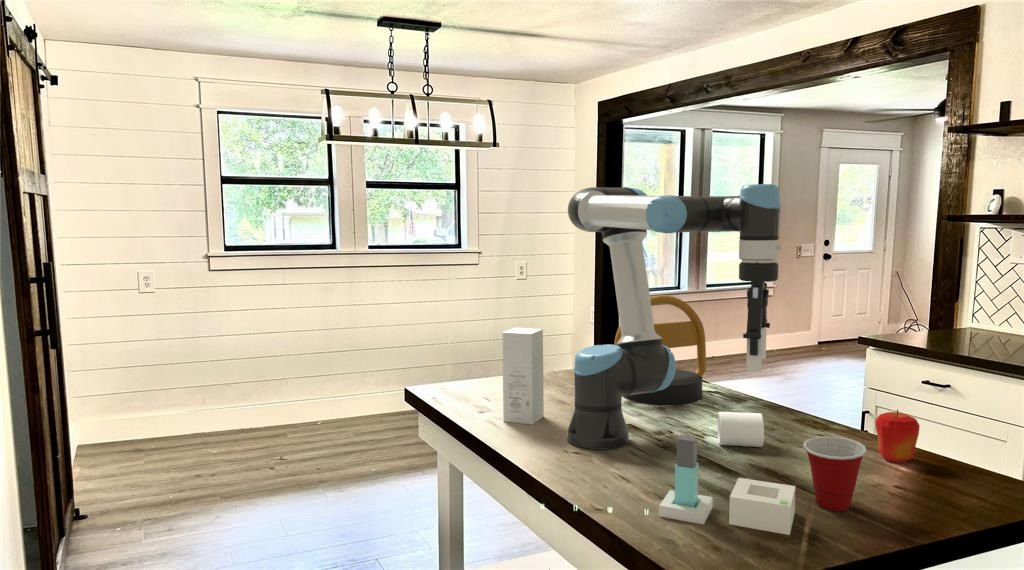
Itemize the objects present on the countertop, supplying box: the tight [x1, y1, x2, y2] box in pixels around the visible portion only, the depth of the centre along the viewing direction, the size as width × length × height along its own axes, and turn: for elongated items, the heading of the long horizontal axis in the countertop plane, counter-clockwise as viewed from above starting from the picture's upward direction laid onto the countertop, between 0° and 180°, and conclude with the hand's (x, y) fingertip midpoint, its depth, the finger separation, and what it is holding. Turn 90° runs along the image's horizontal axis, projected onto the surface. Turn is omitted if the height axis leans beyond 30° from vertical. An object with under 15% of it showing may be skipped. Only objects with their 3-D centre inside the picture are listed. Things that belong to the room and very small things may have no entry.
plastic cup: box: [803, 435, 867, 512], centre depth 131 cm, size 11×11×12 cm
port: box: [728, 477, 796, 536], centre depth 124 cm, size 10×10×6 cm
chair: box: [613, 294, 707, 406], centre depth 216 cm, size 25×35×32 cm
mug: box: [716, 411, 765, 448], centre depth 170 cm, size 12×10×8 cm
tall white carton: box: [502, 327, 545, 426], centre depth 191 cm, size 9×9×25 cm
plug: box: [674, 434, 699, 508], centre depth 127 cm, size 4×4×14 cm
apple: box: [874, 408, 921, 464], centre depth 156 cm, size 9×8×12 cm
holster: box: [658, 489, 713, 525], centre depth 127 cm, size 8×8×3 cm
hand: (756, 364), depth 142 cm, fingers open, 13 cm apart
